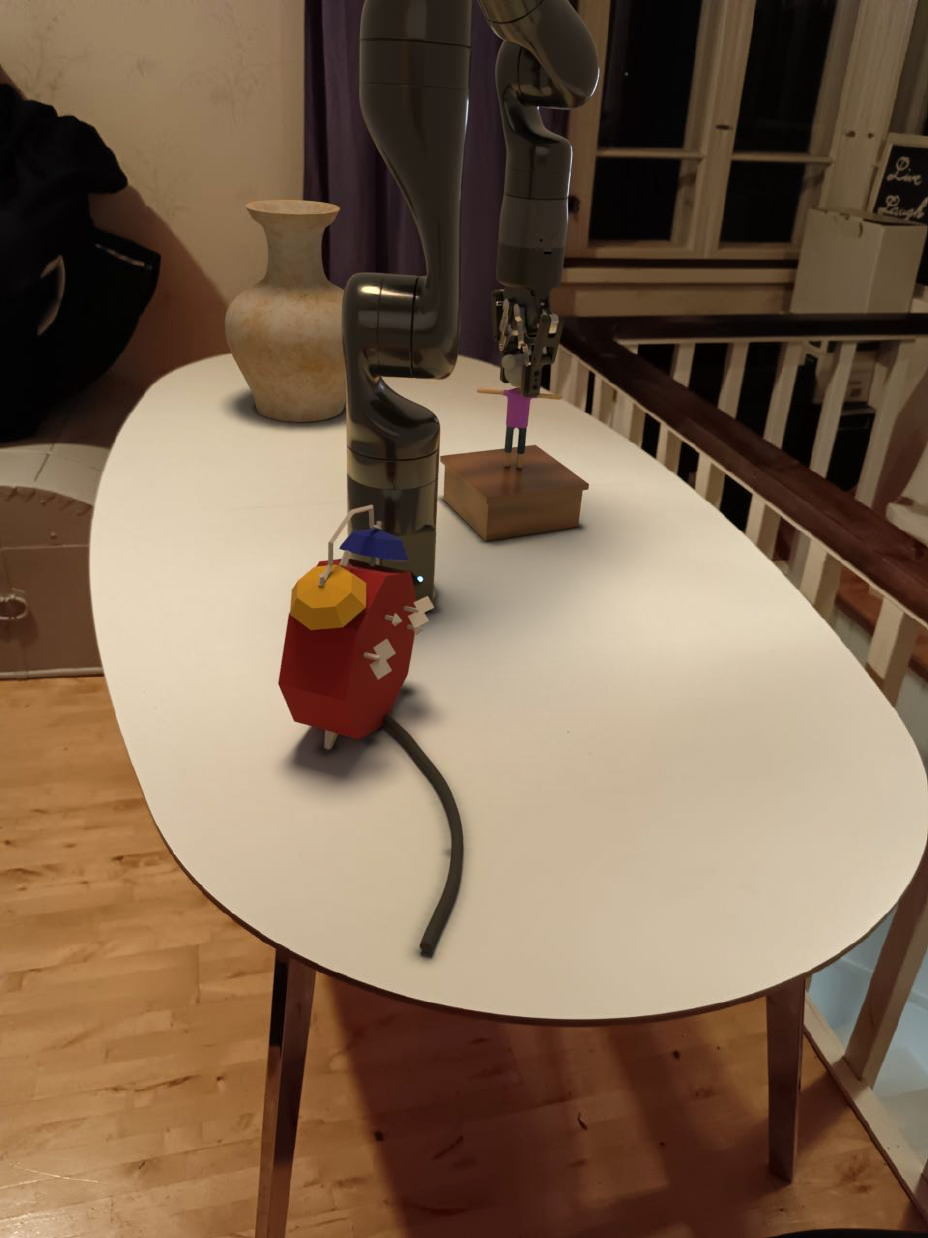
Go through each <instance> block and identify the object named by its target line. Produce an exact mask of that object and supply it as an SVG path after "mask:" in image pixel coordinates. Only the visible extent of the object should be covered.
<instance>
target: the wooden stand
mask: <svg viewBox="0 0 928 1238" xmlns="http://www.w3.org/2000/svg"><path fill="white" fill-rule="evenodd" d="M517 447H518V446H512V452H511V464H510V466H509V467H505V466H504V454H505V451H504V449H505V447H504V448H495V449H487V450H486V449H485V450H479V451H478V450H477V451H470V452H459V453H453V454H445V455H439V463H441V464H442V465H443V466H444V477H443V480H444V481H443V497H442V499H443V501H444V502H445V503H446V504H447V505H448V506H449V507H451V509H452V510H453V511H454V512H456V514H458V515H459V517H461V518H462V519H463V520H464V522H466V524H467V525H469V526H470V527H471V528H472V530H474V531H475V532H476V533H477V534H478V535H479V536H480V537H481V538H482V539H483V540H484V541H485V542H489V541H490V542H491V541H496V540H502V539H508V538H515V537H520V536H521V537H522V536H527V535H534V534H535V535H536V534H540V533H546V532H547V533H548V532H553V531H561V530H565V529H572V528H578V527H579V522H580V514H581V506H582V499H583V491H588V490H589V487H590V483H589V482H588V481H586V480H584V479H583V478H582V477H580V476H579V475H578V474H576V473H575V472H573V470H571V469H570V468H568V467H567V466H566V465H564V464H563V463H561V462H560V461H559V460H557V459H556V458H554V457H553V456H552V455H550V454H549V453H548V452H546V451H545V450H543V449H542V448H541V447H539V446H538V445H537V444H529V445H525V453H524V460H523V467H522V468H518V467H517V465H516V463H517Z"/></svg>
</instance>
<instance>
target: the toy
mask: <svg viewBox="0 0 928 1238" xmlns="http://www.w3.org/2000/svg"><path fill="white" fill-rule="evenodd" d="M518 351H519V352H520V350H519V348H515V349H513V350H511V351H510V352H509V354H508V355H505V356H504V357H503V358H502V366H503V367H504V368H505V369H504V373H505V378H506V379H507V380H508V382H509V383H508V384H510V385H511V386H512V387H514V388H510V389H495V388H487V387H485V388H484V387H479V388H477V389H476V392H477V393H478V394H485V395H488V394H489V395H500V396H504V397H506V398H507V403H506V417H505V425H506V426H505V436H504V437H505V439H504V448H505V449H504V451H505V454H504V466H505V467H509V466H510V464H511V452H512V447H513V443H514V434H515V433H514V432H515V429H518V438H517V446H516V447H517V463H516V465H517V467H518V468H522V467H523V460H524V453H525V446H526V444H527V443H526V442H527V441H526V439H527V431H528V430H527V429H528V426H529V416H530V409H531V401H532V399H547V400H556V401H562V400H563V396H562V395H561V394H557V393H541V392H540V393H539V395H538V396H537V397H528V398H525V397H524V396H522V395H521V382H522V370H523V365H524V359H523V353H520V354H517V355H512V354H513V353H515V352H518ZM531 353H533V349H531Z"/></svg>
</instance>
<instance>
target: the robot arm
mask: <svg viewBox="0 0 928 1238" xmlns="http://www.w3.org/2000/svg"><path fill="white" fill-rule="evenodd" d="M476 1H477V4H478V5H479V8H480V10H481V12H482V15H483V16H484V19H485V21H486V23H487V25H488V26H489V29H490V30H491V31H492V32H493V34H494V35H495V36H497V38H499V39H501V40H503V41H502V43H501V45H500V47H499V50H498V53H497V56H496V60H495V68H494V69H495V70H494V71H495V87H496V93H497V99H498V105H499V110H500V118H501V123H502V131H503V137H504V144H505V150H506V158H505V173H504V189H503V197H502V202H501V208H500V214H499V223H498V224H499V226H498V236H497V237H498V238H497V251H496V252H497V253H496V254H497V255H496V267H495V270H496V271H495V279H496V281H497V282H498V283H500V284H501V285H502V286H503V285H504V286H505V287H504V288H503V289H500V288H499V289H492V291H491V292H490V297H491V301H490V303H491V326H492V327H491V328H492V329H491V330H492V340H493V342H498V349H499V351H501V357H500V369H499V381H500V382H502V383H503V384H510V383H509V382H508V380H507V379H506V378H505V373H504V369H505V368H504V367H503V366H502V358H503V357H504V356H505V355H508V354H509V352H510V351H511V350H513V349H515V348H519V351H518V352H515V353H513V354H512V355H517V354H521V351H520V350H521V348H522V354H523V359H524V365H523V370H522V382H521V395H522V396H524V397H525V398H528V397H537V396H538V395H539V393H541V385H542V384H541V383H542V374H543V367H544V366H546V365H553V364H555V363H556V358H557V353H558V350H559V346H560V341H561V338H562V333H563V330H564V325H565V316H564V314H562V313H559V314H558V313H554V312H553V310H552V301H551V292H552V291H553V289H555V288H557V287H559V286H560V285H561V284H562V281H563V272H564V264H565V255H566V244H567V233H568V224H569V206H568V205H569V194H570V184H571V173H572V161H573V147H572V143H571V141H569V140H568V139H567V138H566V137H564V136H562V135H559V134H557V133H555V132H553V131H551V130H549V129H547V128H546V127H545V125H544V122H543V120H542V116H541V112H540V108H545V109H552V110H553V109H555V110H563V111H564V110H565V111H566V110H567V111H568V110H575V109H578V108H580V107H582V106H583V105H585V104H586V103H587V102H588V101H590V99H591V98H592V96H593V94H594V92H595V91H596V88H597V86H598V82H599V77H600V58H599V57H600V56H599V51H598V48H597V45H596V42H595V40H594V37H593V35H592V33H591V31H590V30H589V28H588V27H587V25H586V23H585V22H584V20H583V19H582V18H581V16H580V15H579V13H578V12H577V11H576V10H575V8H574V7H573V6H572V4H571V3H570V1H569V0H476ZM360 17H361V18H360V26H359V87H358V88H359V89H358V90H359V93H358V94H359V95H358V96H359V106H360V110H361V114H362V117H363V120H364V123H365V126H366V128H367V130H368V132H369V134H370V136H371V139H372V140H373V142H374V144H375V146H376V148H377V151H378V152H379V155H380V156H381V157H382V159H383V161H384V163H385V164H386V166H387V168H388V170H389V172H390V173H391V176H392V177H393V179H394V181H395V182H396V184H397V186H398V188H399V190H400V192H401V194H402V196H403V198H404V200H405V203H406V204H407V207H408V209H409V211H410V213H411V216H412V219H413V221H414V224H415V227H416V228H417V232H418V235H419V239H420V242H421V246H422V250H423V254H424V260H425V270H426V275H417V274H404V273H403V274H401V273H389V272H387V273H386V272H375V271H374V272H373V271H371V272H370V271H363V272H360V271H359V272H356V273H354V274H352V275H351V276H350V278H349V279H348V280H347V282H346V285H345V287H344V289H343V290H344V294H343V299H342V313H341V327H342V346H343V359H344V373H345V392H346V398H345V424H346V425H345V426H346V427H345V428H346V431H345V432H346V435H345V436H346V438H345V439H346V441H345V442H346V515H347V514H348V513H349V512H350V511H351V510H352V509H356V508H360V507H364V506H368V505H373V508H374V525H377V521H380V522H382V524H381V530H382V531H384V532H387V533H389V534H391V535H393V536H395V537H398V538H400V539H401V540H402V543H403V545H404V548H405V551H406V553H407V556H408V559H409V561H400V560H386V559H380V558H376V560H375V564H377V565H381V566H386V567H390V568H395V569H399V570H404V571H408V572H411V576H412V581H413V586H414V591H415V596H416V601H418V600H420V599H422V598H424V597H426V596H428V597H429V599H430V601H431V602H432V604H433V605H434V599H435V593H436V592H435V589H436V586H435V585H436V584H435V575H436V574H435V573H436V553H437V552H436V549H437V520H438V518H437V517H438V495H439V493H438V492H439V473H440V450H441V448H440V447H441V423H440V420H439V418H438V416H437V415H436V414H435V413H434V411H432V410H431V409H430V408H428V407H425V406H424V405H421V404H420V403H417V402H415V401H413V400H411V399H409V398H407V397H405V396H403V395H401V394H399V392H397V391H395V390H394V389H393V388H391V387H390V386H389V385H388V384H387V383H386V382H385V381H384V379H383V378H393V379H406V380H421V381H443V380H447V379H448V378H449V377H450V376H451V375H452V374H453V373H454V370H455V367H456V365H457V361H458V357H459V352H460V351H459V350H460V343H461V330H462V328H461V326H462V323H461V322H462V202H463V201H462V198H463V182H464V181H463V178H464V168H465V167H464V166H465V156H466V155H465V153H466V143H467V142H466V141H467V130H468V119H469V118H468V117H469V105H470V95H471V93H470V92H471V77H472V76H471V75H472V57H473V50H472V48H473V27H474V26H473V24H474V23H473V21H474V0H364V2H363V6H362V11H361V16H360ZM528 335H536V336H533V337H530V336H528ZM532 345H533V349H532ZM547 348H548V349H547ZM531 350H533V353H531ZM346 529H347V531H346V532H347V533H346V534H347V536H346V538H347V537H348V536H349V535H350V534H351V532H352V531H356V530H368V529H371V528H370V526H369V510H368V511H365V512H361V513H357V514H353V515H352V517H351V518H350V520H349V521H348V523H347V524H346ZM350 559H354V560H359V561H363V562H368V563H370V561H371V557H369V556H363V555H358V554H354V553H351V555H350ZM431 610H434V608H432V609H430V610H429V611H431ZM383 723H384V726H386V727H387V728H388V730H390V732H392V733H393V734H394V735H395V736H396V737H397V738H398V739H399V740H400V741H401V743H402V744H404V746H405V747H406V748H407V750H408V751H409V752H410V754H411V755H412V756H413V758H414V759H415V760H416V761H417V762H418V764H419V765H420V766H421V767H422V769H423V770H424V772H425V773H426V774H427V775H428V777H429V778H430V779H431V780H432V782H433V784H434V785H435V787H436V788H437V790H438V792H439V794H440V796H441V798H442V801H443V803H444V807H445V809H446V812H447V816H448V820H449V826H450V832H451V835H450V836H451V845H450V846H451V849H450V859H449V868H448V872H447V877H446V880H445V881H446V882H445V885H444V887H443V891H442V893H441V895H440V898H439V900H438V902H437V905H436V907H435V909H434V911H433V914H432V915H431V917H430V920H429V922H428V924H427V926H426V928H425V930H424V933H423V936H422V938H421V941H420V943H419V949H420V950H422V952H426V953H429V952H432V951H433V948H434V945H435V942H436V940H437V939H438V938H437V937H438V935H439V933H440V930H441V928H442V926H443V924H444V921H445V919H446V917H447V915H448V913H449V911H450V908H451V906H452V903H453V901H454V898H455V896H456V894H457V890H458V887H459V883H460V879H461V874H462V867H463V856H464V831H463V825H462V824H463V823H462V819H461V815H460V811H459V808H458V805H457V803H456V800H455V798H454V797H455V796H454V795H453V791H452V790H451V788H450V786H449V784H448V783H447V781H446V779H445V777H444V776H443V774H442V773H441V772H440V770H439V769H438V767H437V766H436V765H435V764H434V762H433V761H432V760H431V759H430V758H429V756H428V755H427V754H426V753H425V752H424V750H423V749H422V748H421V747H420V745H419V744H418V743H417V741H416V740H415V739H414V737H412V735H411V734H410V733H409V732H408V731H407V730H406V729H405V728H404V727H403V726H402V725H401V724H400V723H399V722H397V720H395V719H394V718H393V717H392V716H391V715H390V714H388V713H386V714H385V715H384V718H383Z"/></svg>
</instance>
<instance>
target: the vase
mask: <svg viewBox="0 0 928 1238" xmlns="http://www.w3.org/2000/svg"><path fill="white" fill-rule="evenodd" d="M244 206H245V208H246V211H247V212H248V214H249V215H250V217H251V219H253V221H255V222H256V223H258V224H259V225H260V226H261V227H262V229H263V232H264V234H265V239H266V244H267V265H266V271H265V274H264V276H263V278H262V279H261V280H259V281H258V282H256V283H254V284H252V285H251V286H250V287H248V288H246V289H244V290H243V291H241V293H239V294H238V295H237V296H236V297H235V298H234V299H233V301H231V303H230V304H229V306H228V308H227V310H226V312H225V318H224V333H225V338H226V342H227V345H228V349H229V351H230V353H231V355H232V358H233V359H234V362H235V363H236V366H237V367H238V370H239V371H240V373H241V375H242V376H243V378H244V380H245V382H246V384H247V386H248V387H249V389H250V392H251V393H252V395H253V399H254V403H255V408H256V411H257V412H258V413H259V414H260V415H262V416H264V417H267V418H268V419H269V418H270V419H273V420H277V421H283V422H296V423H307V422H319V421H324V420H328V419H331V418H335V417H336V416H338V415H340V414H342V412H343V411H344V409H345V406H346V392H345V373H344V359H343V346H342V327H341V313H342V299H343V294H344V290H345V289H343V288H342V287H339V286H338V285H336V284H334V283H332V282H331V281H330V280H328V278H327V276H326V274H325V271H324V265H323V258H322V242H323V241H322V240H323V236H324V232H325V229H326V228H327V227H329V226H330V225H331V224H332V223H333V222H334V221H335V220H336V218H337V215H338V214H339V212H340V210H341V208H340V207H339V206H338V205H335V204H333V203H327V202H322V201H314V200H301V199H270V200H269V199H267V200H266V199H264V200H257V201H256V200H255V201H251V202H248V203H246V204H245V205H244Z"/></svg>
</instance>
